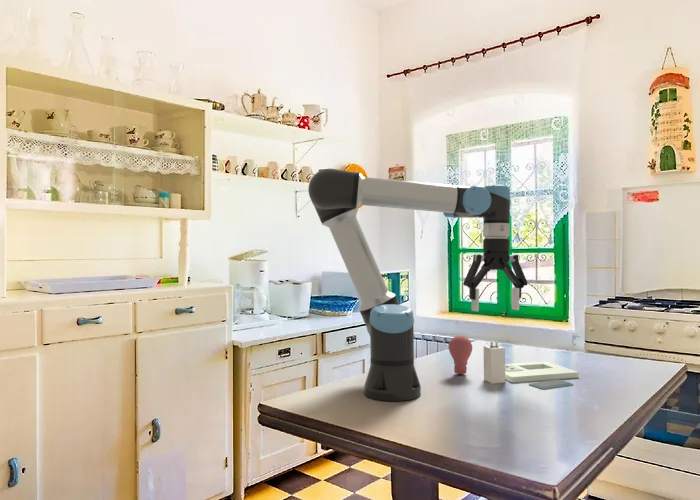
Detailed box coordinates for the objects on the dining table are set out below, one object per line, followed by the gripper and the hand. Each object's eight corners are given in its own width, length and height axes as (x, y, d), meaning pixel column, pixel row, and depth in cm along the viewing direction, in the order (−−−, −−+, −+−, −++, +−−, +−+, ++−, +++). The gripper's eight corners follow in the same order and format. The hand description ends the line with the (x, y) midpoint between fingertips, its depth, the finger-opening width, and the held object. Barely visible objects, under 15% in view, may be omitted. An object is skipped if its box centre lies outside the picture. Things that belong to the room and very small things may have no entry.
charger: (491, 383, 158) (490, 343, 158) (483, 379, 162) (483, 340, 162) (505, 382, 159) (505, 342, 159) (497, 378, 163) (497, 339, 163)
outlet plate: (512, 382, 159) (512, 375, 159) (485, 370, 174) (485, 364, 174) (578, 377, 164) (578, 370, 164) (547, 366, 180) (546, 360, 180)
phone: (543, 391, 151) (543, 387, 151) (528, 387, 156) (528, 383, 156) (573, 387, 155) (573, 383, 155) (558, 382, 160) (558, 378, 160)
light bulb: (466, 378, 164) (466, 338, 164) (444, 375, 168) (444, 336, 168) (476, 374, 170) (476, 335, 170) (455, 371, 174) (455, 333, 174)
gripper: (465, 237, 154) (464, 312, 154) (540, 238, 162) (539, 310, 162) (452, 237, 161) (451, 309, 162) (524, 238, 169) (524, 307, 169)
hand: (495, 310), depth 162 cm, fingers open, 13 cm apart
